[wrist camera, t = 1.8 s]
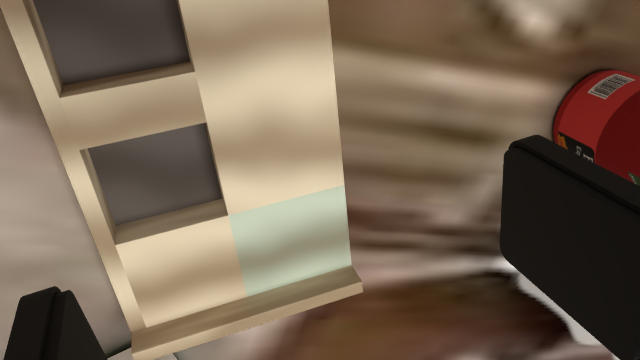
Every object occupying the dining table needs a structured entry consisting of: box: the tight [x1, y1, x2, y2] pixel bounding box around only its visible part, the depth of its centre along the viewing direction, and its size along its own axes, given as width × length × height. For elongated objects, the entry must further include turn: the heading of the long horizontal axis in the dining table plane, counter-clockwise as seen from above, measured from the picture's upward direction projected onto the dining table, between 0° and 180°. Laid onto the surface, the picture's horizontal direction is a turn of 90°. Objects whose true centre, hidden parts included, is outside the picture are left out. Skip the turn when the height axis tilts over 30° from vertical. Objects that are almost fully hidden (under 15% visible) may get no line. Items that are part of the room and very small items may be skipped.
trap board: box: [0, 0, 363, 360], centre depth 29 cm, size 31×16×4 cm, turn 6°
